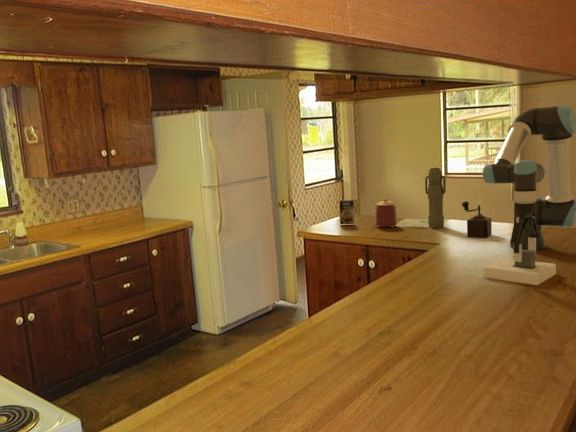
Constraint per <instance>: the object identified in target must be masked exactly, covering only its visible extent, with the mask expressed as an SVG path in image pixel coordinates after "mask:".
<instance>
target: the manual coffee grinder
mask: <svg viewBox="0 0 576 432" xmlns="http://www.w3.org/2000/svg"><path fill="white" fill-rule="evenodd" d="M469 205H470V202H469V201H466V200H465V201H463V202H462V203H461V206H462V207H463V208H464V209H463V210H464V211H465V213H470V212H476V211H477V212H478V213H477V214H476V215H474V216H472V217H470V218H468V219H466V227H467V230H466V233H467V238H472V239H473V238H475V239H487V238H490V237H491V236H492V217H487V216H485V215H483V214H482V213H481V209H482V208H481V205H477V208H475V209H470V207H469Z"/></svg>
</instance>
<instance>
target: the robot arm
mask: <svg viewBox="0 0 576 432" xmlns="http://www.w3.org/2000/svg"><path fill="white" fill-rule="evenodd" d="M575 133H576V112H575V110H574V108H573V107H572V106H569V105H557V106H555V105H554V106H546V107H545V106H544V107H533V108H531V109H530V108H529V109H526V110H524V111H523V112H522V113H520V114H518V115H517V116H516V117H515V118H514V119H513V120H512V121H511V122H510V124H509V126H508V128H507V135H506V138H505V140H504V142H503V143H502V145H501V147H500V149H499V151H498V153H497V156H496V157H495V159H494V161H493V163H490V164H486V165H484V167H482V180H483V181H484V182H485V183H486V184H495V185H496V184H514V186H513V187H514V190H513V194H512V195H513V196H514V198H513V201H514V203H513V206H514V207H513V226H512V232H511V236H510V241H509V247H510V248H512V249H513V250H512V251H513V252H512V254H513V258H512V259H513V261H516V262H522V249H524V250H534V251H535V256H536V255H537V250H542V249H545V248H546V241H545V238H544V235H543V231H542V226H545V227H546V226H547V227H559V228H560V227H561V228H564V227H565V228H566V227H567V228H568V227H569V228H571V227H573V226H574V225H576V200H575V196H574V195H573V194H572V193H571V180H570V178H571V177H570V149H569V142H570V140H571V139H572V138H573V134H575ZM531 136H541V140H542V141H543V142H545V144H546V145H545V146H546V164H547V171H546V168H545V167H544V165H542V164H541V163H537V161H536V160H533V159H524V160H523V159H522V160H517V159H518V157H519V155H520V154H521V151H522V148H523V146H524V145H525V142H526V141H527V140H529V138H530V137H531ZM546 172H547V186H548V189H547V190H548V191H547V192H548V194H547V195H546V196H545V197H544V200H543V198H542V197H541V196H537V183H540V182H541V181H543V180H544V179H545V177H546Z"/></svg>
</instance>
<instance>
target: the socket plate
mask: <svg viewBox="0 0 576 432" xmlns="http://www.w3.org/2000/svg"><path fill="white" fill-rule="evenodd" d="M482 274H483V278H487V279H493V280H500V281H507V282H508V281H509V282H514V283H520V284H527V285H534V286H538V285H540V284H541V283H543V282H545V281H547V280H549V279H550V278H553V276H555V275H556V274H557V264H556V263H549V262H543V261H542V262H541V261H535V268H534V269H527V268H519V267H515V261H513V258H508V257H502V258H499V259H498V260H496V261H494V262H492V263H490V264H487V265H485V266H483V273H482Z"/></svg>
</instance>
